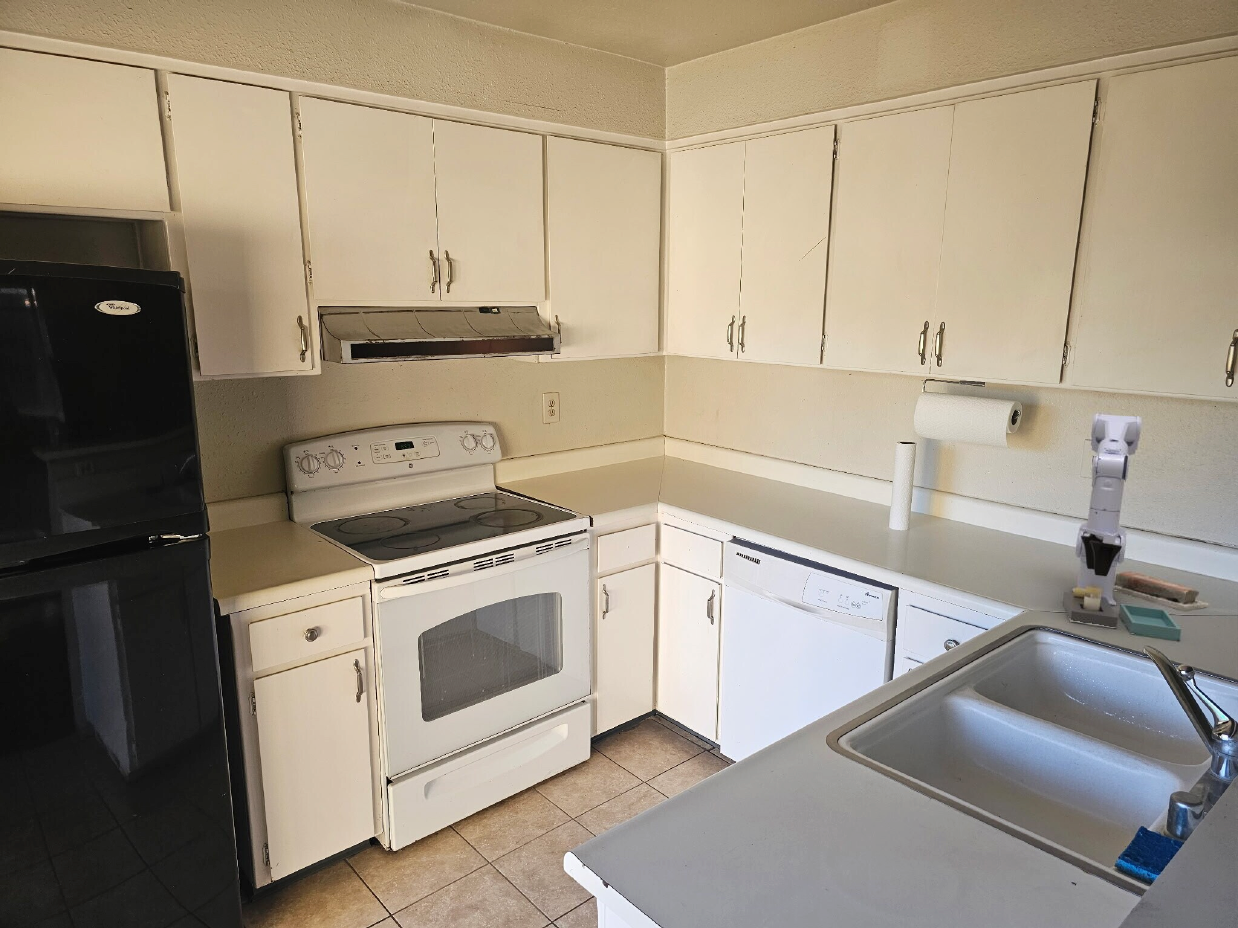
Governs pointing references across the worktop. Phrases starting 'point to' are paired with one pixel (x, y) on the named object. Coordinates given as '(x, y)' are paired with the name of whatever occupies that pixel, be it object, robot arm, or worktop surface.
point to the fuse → (1092, 598)
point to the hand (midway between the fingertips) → (1096, 572)
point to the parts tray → (1149, 622)
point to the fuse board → (1077, 613)
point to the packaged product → (1158, 591)
